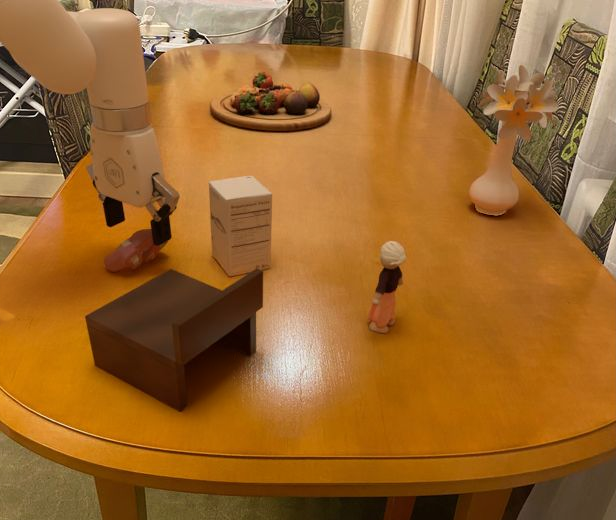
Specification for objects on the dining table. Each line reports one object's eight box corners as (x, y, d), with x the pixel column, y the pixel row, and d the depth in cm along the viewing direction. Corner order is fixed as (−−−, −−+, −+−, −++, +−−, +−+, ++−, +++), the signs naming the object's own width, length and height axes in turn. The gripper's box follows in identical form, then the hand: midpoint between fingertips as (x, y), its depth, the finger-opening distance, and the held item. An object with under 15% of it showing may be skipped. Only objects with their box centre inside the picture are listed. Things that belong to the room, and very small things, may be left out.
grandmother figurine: (374, 309, 87) (386, 228, 79) (400, 315, 86) (415, 234, 78) (358, 337, 81) (369, 253, 73) (386, 344, 80) (400, 260, 72)
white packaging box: (210, 256, 97) (207, 180, 89) (253, 248, 100) (253, 173, 92) (227, 278, 92) (225, 199, 84) (272, 269, 94) (273, 191, 87)
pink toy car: (121, 286, 91) (131, 255, 86) (99, 266, 91) (108, 234, 86) (166, 261, 98) (178, 231, 93) (146, 242, 98) (156, 211, 93)
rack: (94, 365, 74) (76, 278, 66) (175, 314, 83) (167, 233, 76) (187, 415, 67) (178, 326, 60) (262, 354, 77) (263, 270, 70)
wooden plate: (220, 93, 173) (219, 62, 168) (331, 101, 173) (333, 70, 168) (199, 128, 147) (197, 92, 142) (330, 136, 147) (333, 101, 142)
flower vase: (464, 230, 109) (498, 83, 94) (452, 190, 124) (480, 58, 109) (537, 236, 109) (582, 89, 94) (516, 195, 124) (552, 63, 109)
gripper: (55, 109, 81) (80, 226, 92) (148, 137, 74) (163, 260, 85) (98, 97, 86) (117, 209, 97) (189, 122, 79) (199, 240, 90)
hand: (139, 232), depth 91 cm, fingers open, 9 cm apart
